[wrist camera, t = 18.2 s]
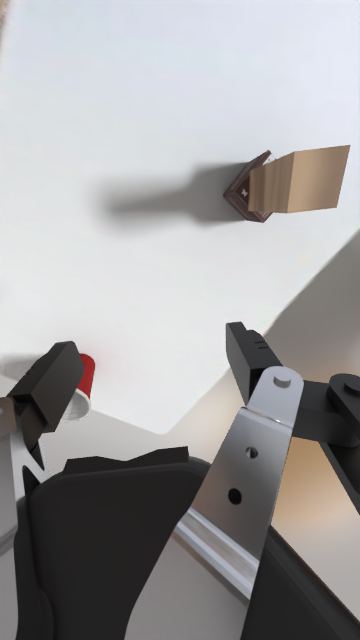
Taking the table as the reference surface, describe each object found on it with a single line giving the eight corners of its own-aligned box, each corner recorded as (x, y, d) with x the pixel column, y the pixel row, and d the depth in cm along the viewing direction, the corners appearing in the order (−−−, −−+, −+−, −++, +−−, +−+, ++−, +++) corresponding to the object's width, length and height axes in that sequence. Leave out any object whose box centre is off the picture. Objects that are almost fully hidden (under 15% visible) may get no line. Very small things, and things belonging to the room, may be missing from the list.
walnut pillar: (247, 210, 29) (287, 213, 19) (249, 171, 27) (294, 151, 17) (280, 206, 29) (336, 207, 19) (285, 166, 27) (350, 144, 17)
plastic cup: (75, 386, 52) (52, 432, 42) (48, 353, 47) (13, 396, 37) (115, 373, 51) (101, 417, 40) (91, 338, 46) (67, 377, 35)
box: (246, 221, 36) (262, 224, 30) (221, 195, 34) (233, 192, 28) (274, 189, 34) (298, 185, 28) (249, 159, 32) (269, 148, 26)
